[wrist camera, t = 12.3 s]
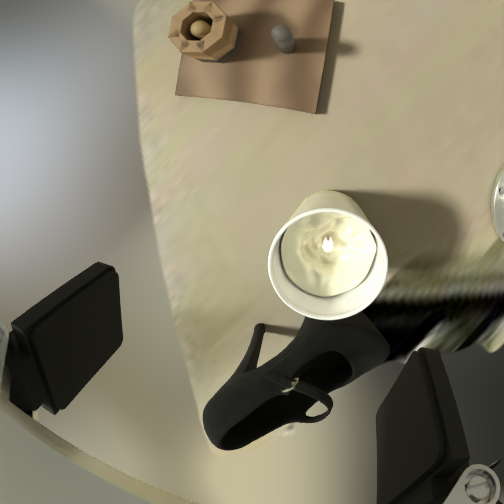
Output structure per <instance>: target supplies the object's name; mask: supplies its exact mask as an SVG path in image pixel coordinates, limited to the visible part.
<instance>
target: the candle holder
mask: <svg viewBox="0 0 504 504" xmlns="http://www.w3.org/2000/svg"><path fill="white" fill-rule="evenodd" d="M268 271H269V276H270V280H271V283H272V285H273V287H274V289H275V291H276V293H277V294H278V296H279V297H280V298H281V299H282V300H283V302H284V303H285V304H287V305H288V306H289V307H290V308H292V309H293V310H295V311H296V312H298V313H300V314H302V315H304V316H307V317H310V318H314V319H319V320H337V319H343V318H346V317H349V316H352V315H354V314H357V313H358V312H360V311H362V310H363V309H365V308H366V307H367V306H369V305H370V304H371V303H372V302H373V301H374V300H375V299H376V297H377V296H378V295H379V293H380V291H381V290H382V288H383V286H384V283H385V281H386V277H387V272H388V256H387V251H386V247H385V245H384V242H383V240H382V238H381V236H380V235H379V233H378V232H377V230H376V229H375V228H374V227H373V226H372V224H371V223H370V221H369V220H368V218H367V217H366V215H365V214H364V212H363V211H362V209H361V208H360V207H359V205H358V204H357V203H356V202H355V201H354V200H353V199H352V198H350V197H349V196H347V195H345V194H343V193H341V192H337V191H330V190H327V191H320V192H317V193H314V194H312V195H310V196H308V197H307V198H306V199H304V200H303V201H302V202H301V203H300V205H299V206H298V207H297V209H296V210H295V211H294V213H293V214H292V216H291V217H290V218H289V220H288V221H287V223H286V224H285V225H284V226H283V227H282V228H281V230H280V231H279V232H278V234H277V235H276V237H275V239H274V241H273V243H272V245H271V248H270V252H269V257H268Z"/></svg>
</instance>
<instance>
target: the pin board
mask: <svg viewBox="0 0 504 504" xmlns="http://www.w3.org/2000/svg"><path fill="white" fill-rule="evenodd" d="M212 1H213V2H214V3H215V4H216V5H217V6H218V7H219V8H220V9H221V10H222V11H223V12H224V13H225V14H226V15H227V16H228V17H229V18H230V19H231V20H232V21H233V22H234V23H235V24H236V25H237V27H238V28H239V29H240V30H241V31H242V32H243V34H242V39H241V44H240V50H239V52H237V53H236V54H234V55H233V56H232V57H230V58H229V59H228V60H226V61H225V62H224V63H210V62H202V61H199V60H197V59H195V58H193V57H191V56H188V55H186V54H184V53H182V55H181V61H180V67H179V73H178V79H177V85H176V92H175V95H178V96H190V97H202V98H213V99H223V100H232V101H240V102H248V103H255V104H262V105H268V106H275V107H281V108H286V109H292V110H297V111H303V112H308V113H313V114H316V109H317V103H318V98H319V92H320V86H321V81H322V75H323V69H324V63H325V57H326V51H327V44H328V38H329V32H330V25H331V19H332V12H333V5H334V0H193V2H212ZM211 28H212V26H210V25H209V24H208V23H206V22H205V21H202V20H199V21H196V22H194V23H193V24H192V25H191V33H192V34H193V35H194V36H196V37H198V38H199V39H202V38H204V37H205V36H206V35H208V34H209V33H210V32H211Z"/></svg>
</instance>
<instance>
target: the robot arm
mask: <svg viewBox="0 0 504 504" xmlns="http://www.w3.org/2000/svg"><path fill="white" fill-rule="evenodd" d="M491 215H492V221H493V225H494V228H495V230H496V232H497V235H498V236H499V238H500V239H501V240H502V242H503V243H504V166H503V168H502V169H501V170H500V172H499V174H498V176H497V178H496V180H495V184H494V187H493V190H492V197H491ZM11 326H12V329H13V330H12V331H11V332H10V333H9V331H8V329H7V327H6V326H4V325H3V324H1V323H0V504H199V503H196V502H193V501H190V500H187V499H184V498H182V497H179V496H176V495H174V494H171V493H169V492H166V491H164V490H161V489H159V488H156V487H154V486H151V485H149V484H147V483H145V482H142V481H140V480H138V479H136V478H133V477H131V476H129V475H127V474H125V473H123V472H121V471H119V470H117V469H115V468H113V467H111V466H109V465H107V464H105V463H103V462H102V461H100V460H98V459H96V458H94V457H92V456H91V455H89V454H87V453H85V452H84V451H82V450H80V449H78V448H77V447H75V446H74V445H72V444H70V443H69V442H67V441H66V440H64V439H62V438H61V437H59V436H58V435H56V434H54V433H53V432H52V431H50V430H49V429H47V428H46V427H44V426H43V425H41V424H40V423H38V408H39V407H40V406H41V405H42V406H43V408H45V409H46V410H48V411H49V412H51V413H52V414H54V415H55V414H56V413H57V412H58V411H59V410H60V409H61V410H63V409H65V408H66V407H67V406H68V405H69V404H70V402H71V401H72V400H73V399H74V398H75V396H77V394H78V393H79V392H80V391H81V390H82V389H83V387H84V386H85V385H86V384H87V383H88V382H89V380H91V378H92V377H93V376H94V375H95V374H96V373H97V372H98V371H99V369H100V368H101V367H102V366H103V365H104V364H105V363H106V361H107V360H108V359H109V358H110V357H111V356H112V355H113V354H114V353H115V351H116V350H117V349H118V348H119V347H120V346H121V344H122V341H123V333H122V332H123V331H122V320H121V307H120V293H119V276H118V274H117V273H116V271H115V268H114V267H113V266H110V265H107V264H104V263H101V262H97V263H95V264H93V265H92V266H90V267H89V268H87V269H86V270H84V271H83V272H81V273H80V274H78V275H77V276H75V277H74V278H73V279H71V280H69V281H68V282H67V283H65V284H64V285H62V286H61V287H59V288H58V289H56V290H55V291H54V292H52V293H51V294H49V295H48V296H47V297H45V298H44V299H42V300H41V301H40V302H38V303H37V304H35V305H34V306H33V307H31V308H30V309H29V310H27V311H26V312H25V313H23V314H22V315H21V316H19V317H18V318H17V319H15V320H14V321H13V322H11ZM376 433H377V504H502V503H501V502H500V501H499V500H498V498H499V494H500V483H499V480H498V477H497V476H496V474H495V473H494V472H493V471H492V470H491V469H490V468H488V467H487V466H485V465H480V464H476V465H471V466H469V461H468V460H469V459H470V455H469V451H468V446H467V443H466V439H465V434H464V430H463V427H462V423H461V419H460V416H459V412H458V408H457V405H456V402H455V399H454V395H453V392H452V388H451V385H450V383H449V379H448V376H447V373H446V370H445V367H444V365H443V361H442V359H441V356H440V353H439V351H437V350H434V349H428V348H423V347H421V348H419V349H418V351H413V352H412V354H411V355H410V357H409V359H408V361H407V363H406V364H405V366H404V368H403V370H402V371H401V373H400V375H399V377H398V378H397V380H396V382H395V383H394V385H393V387H392V388H391V390H390V392H389V393H388V395H387V396H386V398H385V399H384V401H383V403H382V404H381V406H380V407H379V409H378V411H377V415H376Z"/></svg>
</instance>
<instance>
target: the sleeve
mask: <svg viewBox="0 0 504 504" xmlns="http://www.w3.org/2000/svg"><path fill="white" fill-rule="evenodd" d="M199 20H202V21H205V22H206V23H208V24H209V25H210V26H212V28H211V32H210V33H209V34H208V35H206V36H205V37H204V38H202V39H199V38H198V37H196V36H194V35H193V34H192V33H191V25H192V24H193V23H194V22H196V21H199ZM242 34H243V32H242V31H241V30H240V29H239V28H238V27H237V25H236V24H235V23H234V22H233V21H232V20H231V19H230V18H229V17H228V16H227V15H226V14H225V13H224V12H223V11H222V10H221V9H220V8H219V7H218V6H217V5H216V4H215V3H214V2H213V1H212V2H190V3H189V4H188V5H186V6H185V7H184V8H183V9H181V10H180V11H179V12H178V13H176V14H175V15H174V16H173V17H172V21H171V26H170V31H169V36H168V38H169V39H170V40H171V41H172V42H173V44H174V45H175V46H176V47H177V48H178V50H179V51H180V52H182V53H184V54H186V55H188V56H191V57H193V58H195V59H197V60H199V61H202V62H210V63H224V62H225V61H226V60H228V59H229V58H230V57H232V56H233V55H234V54H236V53H237V52H239V50H240V44H241V39H242Z"/></svg>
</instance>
